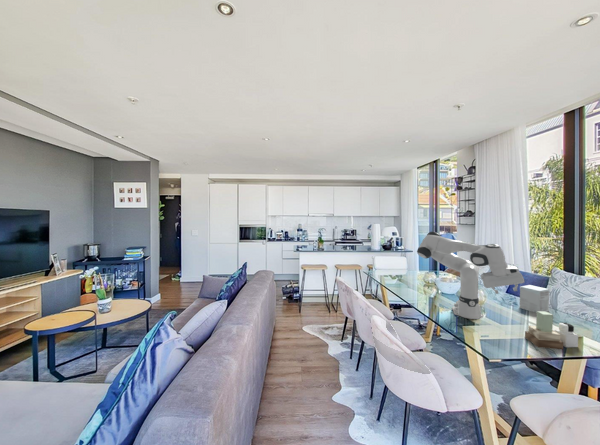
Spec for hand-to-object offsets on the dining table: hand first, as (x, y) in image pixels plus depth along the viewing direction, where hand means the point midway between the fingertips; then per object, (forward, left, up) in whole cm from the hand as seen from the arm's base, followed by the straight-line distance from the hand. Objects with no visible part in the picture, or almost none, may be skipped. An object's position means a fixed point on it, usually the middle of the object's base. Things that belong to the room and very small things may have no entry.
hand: (506, 292), depth 160 cm
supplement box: (-59, +48, -29) cm, 81 cm away
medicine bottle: (0, +31, -29) cm, 42 cm away
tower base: (+2, +19, -29) cm, 35 cm away
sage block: (+2, +19, -21) cm, 28 cm away
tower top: (+2, +19, -25) cm, 31 cm away
